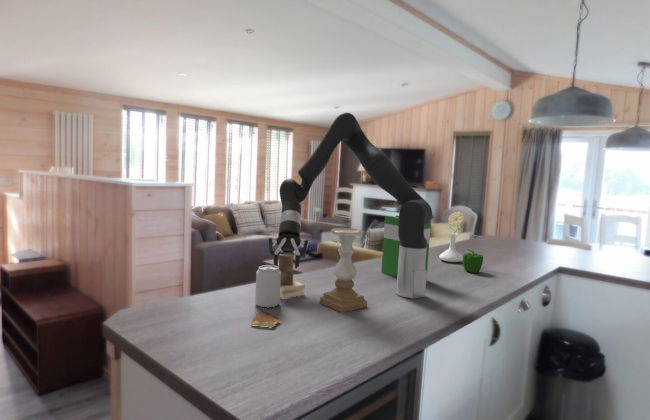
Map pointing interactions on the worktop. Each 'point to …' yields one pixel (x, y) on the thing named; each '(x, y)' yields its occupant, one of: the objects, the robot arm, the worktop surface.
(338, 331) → the worktop surface
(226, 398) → the worktop surface
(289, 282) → the walnut pillar
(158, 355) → the worktop surface
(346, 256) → the candle holder
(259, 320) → the sandwich
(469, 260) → the bell pepper
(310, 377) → the worktop surface
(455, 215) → the flower in vase
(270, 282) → the can
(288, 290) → the birch block
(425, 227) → the green and white box
